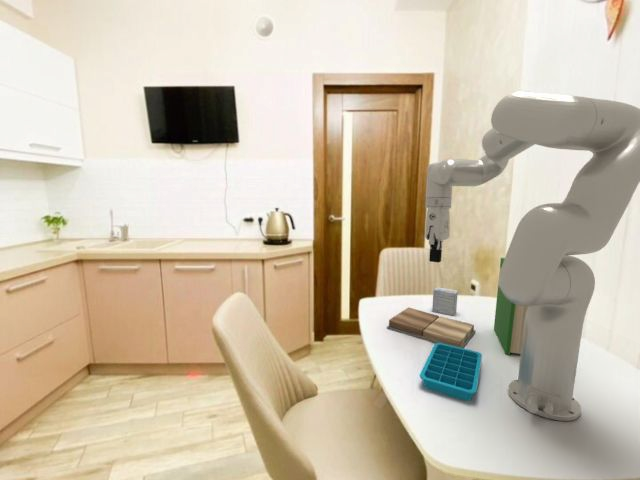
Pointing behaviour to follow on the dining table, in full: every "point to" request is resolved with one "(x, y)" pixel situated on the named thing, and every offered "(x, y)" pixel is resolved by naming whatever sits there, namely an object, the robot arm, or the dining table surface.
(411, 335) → the underlay mat
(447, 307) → the medicine box
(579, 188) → the robot arm
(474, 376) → the ice cube tray
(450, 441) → the dining table surface
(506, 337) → the hardback book
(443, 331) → the oak plank
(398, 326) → the walnut plank
